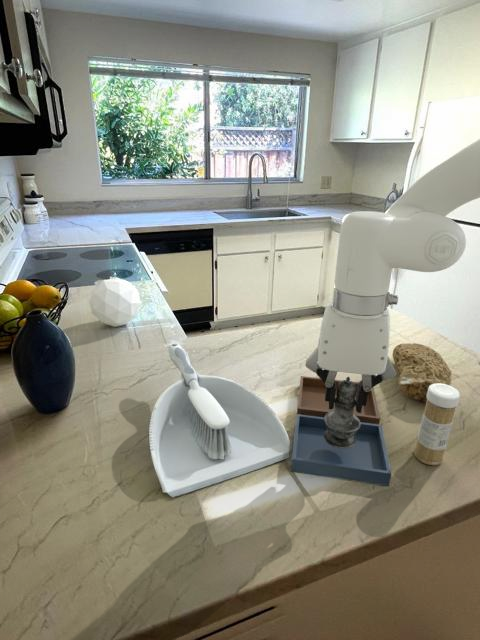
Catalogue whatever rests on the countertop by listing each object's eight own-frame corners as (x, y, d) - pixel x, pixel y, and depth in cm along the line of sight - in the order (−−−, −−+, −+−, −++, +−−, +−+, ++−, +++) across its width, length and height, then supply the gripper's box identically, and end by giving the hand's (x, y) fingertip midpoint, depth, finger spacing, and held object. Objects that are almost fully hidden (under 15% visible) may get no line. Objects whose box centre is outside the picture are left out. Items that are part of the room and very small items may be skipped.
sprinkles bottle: (431, 446, 71) (447, 380, 66) (448, 465, 67) (467, 396, 61) (407, 449, 70) (422, 383, 65) (423, 468, 66) (440, 399, 61)
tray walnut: (371, 393, 86) (373, 383, 85) (378, 429, 75) (380, 418, 74) (299, 385, 89) (300, 375, 88) (296, 419, 77) (297, 408, 77)
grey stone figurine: (318, 427, 70) (325, 367, 66) (351, 426, 71) (360, 366, 66) (327, 450, 65) (335, 387, 60) (362, 449, 65) (373, 386, 61)
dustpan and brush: (163, 502, 59) (158, 451, 55) (121, 389, 86) (116, 350, 83) (296, 456, 68) (300, 409, 64) (220, 367, 95) (220, 331, 92)
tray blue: (379, 435, 73) (381, 424, 72) (389, 486, 62) (391, 473, 61) (295, 424, 76) (296, 413, 75) (290, 471, 65) (291, 459, 64)
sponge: (449, 416, 81) (455, 358, 95) (448, 386, 77) (455, 330, 92) (381, 407, 88) (396, 353, 102) (378, 379, 84) (394, 327, 98)
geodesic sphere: (77, 318, 106) (106, 273, 105) (74, 301, 118) (100, 260, 117) (126, 342, 114) (154, 300, 113) (119, 323, 126) (144, 286, 125)
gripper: (414, 296, 60) (394, 399, 67) (302, 288, 63) (294, 388, 70) (425, 314, 53) (401, 427, 61) (299, 304, 56) (291, 413, 63)
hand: (344, 405), depth 65 cm, fingers closed on grey stone figurine, 3 cm apart
